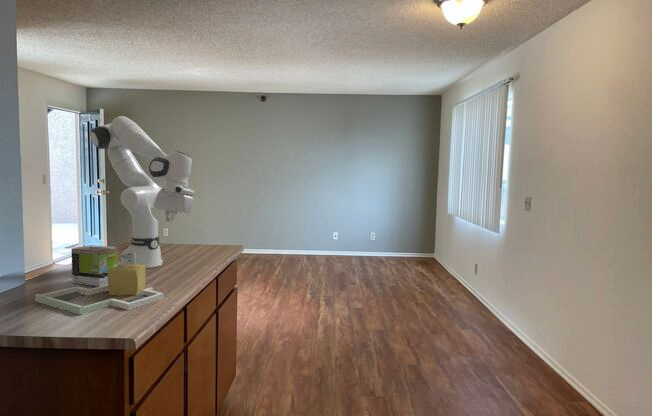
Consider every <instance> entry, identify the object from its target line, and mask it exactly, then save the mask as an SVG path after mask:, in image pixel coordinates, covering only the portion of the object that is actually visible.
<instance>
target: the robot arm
mask: <svg viewBox="0 0 652 416" xmlns="http://www.w3.org/2000/svg"><path fill="white" fill-rule="evenodd" d="M89 135H90V136H89V137H90V140H91V142H92V144H93V146H94V147H95V148H98V149H99V150H107V156H108V159H109V162H110V164H111V166H112V168H113V170H114V172H115V173H116V175H117V177H118V178H119V180H120V181H121V182H122V184H123V185H125V186H127V187H129V188H126V189H123V191H122V192H121V194H120V202H121V205H122V206H123V208H125V209H126V210H127V211H128V212H129V214H130V216H131V220H132V229H133V230H132V231H133V234H132V235H133V236H132V237H130V238H129V239H130V240H129V241H130V242H131V243H130V245H129V246H128V247H127V248H126V249H125V250H123V251H122V253H121V260H118V266H125V265H128V264H144V265H145V269H150V268H157V267H160V266H162V265H163V263H164V261H163V259H162V254H161V247H160V245H159V244H160V236H159V221H158V219H157V218H155V217H154V215H153V214H152V211H151V209H156V210H163V211H164V215H165V218H164V219H165V222H170V223H174V219H175V218H176V216H177V215H178V213H182V214H183V213H184V214H190V212H192V208H193V203H194V198H193V197H194V196H195V190H193V189H191V188H189V187H188V186H189V178H190V176H191V172H192V165H193V162H192V161H193V159H192V157H191V155H189V154H187V153H184V152H182V151H179V150H175V151H173V152H171V153H170V154H168V153H166V152H165V151H164V150H163V149H162V148H161V147H160V146H159V145H157V143H156V142H155V141H154V140H153V139H152V138H151V137H150V136H149V134H147V133H146V132H145V131H144V130H143V129H142V128H141V127H140V126H139V125H138V124H137V123H136V122H135V121H134V120H132V119H130V118H129V117H127V116H125V115H119V116H116V117H114V118H113V119H112V120H111V122H110V123H107V124H104V125H98V126H96V127H93V128H92V129H91V131H90V133H89ZM133 153H135V154H137V155H140V156H142V157H146V158H147V159H150V160H151V161H150V163H149V165H148V171H149V175H150V176H151V177H153V178H154V179H157V180H160V181H162V182H163V181H164V182H165V184H164V187H162V186H160V185H158V184H157V183H155V182H154V181H153V179H151V178H150V177H149V175H147V174H146V172H145V171H144V170H143V168H142V166H141V165H140V163H139V162H138V160H137V158H136V157H135V155H134V154H133Z"/></svg>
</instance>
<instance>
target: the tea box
mask: <svg viewBox="0 0 652 416" xmlns="http://www.w3.org/2000/svg"><path fill="white" fill-rule="evenodd" d="M70 250H71V277H72V283H73V284H79V285H84V286H85V285H87V286H92V287H94V286H95V287H100V286H104V285H108V270H109V269H111V268H113V267H117V266H119V265H118V262H119V248H118V246H109V245H108V246H107V245H94V244H91V245H90V244H89V245H85V246H79V247H72V248H71V249H70Z"/></svg>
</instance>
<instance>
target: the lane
mask: <svg viewBox="0 0 652 416" xmlns="http://www.w3.org/2000/svg"><path fill="white" fill-rule="evenodd" d="M107 290H108V291H109V289H108V284H107V285H104V286H95V287H93V288H92V287H91V288H86V287H83V286H73V287H68V288H64V289H58V290H56V291H52V292H47V293H42V294H40V293H36V294H34V296H35V297H34V301H35V302H36V303H38V302H39V304H42V303H43V305H45V304H47V305H46V306H48V305H51V306H50V307H52V306H55V307H58V308H57V309H59V308H62V309H65V310H67V311H66V312H69V311H70V313H72V312H74V313H73V314H75V313H78V314H77V315H79V314H82V315H84V314H83V313H85V314H87V313H86V312H88V313H91V312H90V311H92V312H94V310H95V311H98V310H101V308H102V309H104V307H105V308H108V307H111V306H112V307H116V308H119V309H124V310H127V311H131V310H133V308H134V309H136V307H137V308H139V307H142V306H147V305H149V304H152V303H154V302H155V303H156V302H158V301H160V300H164V299H165V295H164V292H161V291H155V290H154V287H148V288H145V289H143V290H142V291H141V295H139V296H136V297H133V298H129V299H126V300H120V299H116V298H109V299H105V300H102V301H98V302H95V303H91V304H88V305H85V306H82V305H79V304H75V303H71V302H68V301H69V299H70V300H73V298H74V299H76V297H78V298H81V297H84V295H85V294H86V295H85V296H88V295H89V296H92V295H91V294H93V295H95V293H97V294H100V293H99V292H101V293H103V291H104V292H107ZM81 293H82V294H81ZM80 296H81V297H80ZM65 300H66V301H65ZM55 307H54V308H55ZM62 309H61V310H62ZM97 309H98V310H97ZM65 310H64V311H65Z"/></svg>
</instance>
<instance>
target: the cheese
mask: <svg viewBox="0 0 652 416" xmlns="http://www.w3.org/2000/svg"><path fill="white" fill-rule="evenodd" d="M146 279H147V278H146V268H145V265H144V264H128V265H125V266H119V265H118V266H117V267H113V268H111V269H109V270H108V284H107V285H108V289H109V290H108V293H109V294H108V295H109V296H110V295H117V296H137V295H139V294H140V293H142V290H144V289H146Z"/></svg>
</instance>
